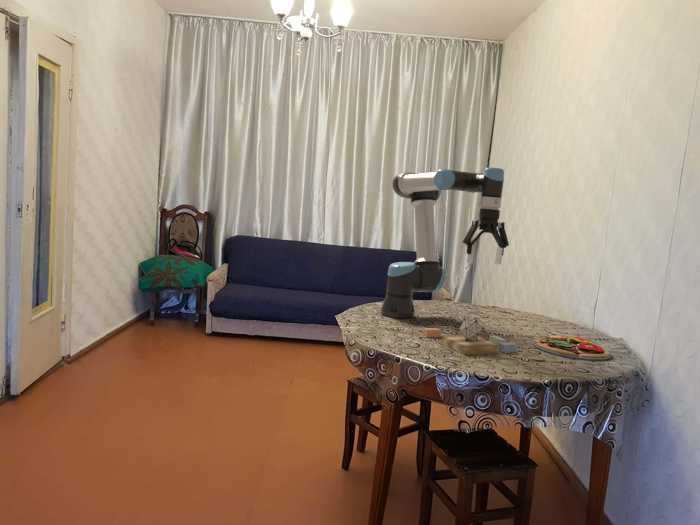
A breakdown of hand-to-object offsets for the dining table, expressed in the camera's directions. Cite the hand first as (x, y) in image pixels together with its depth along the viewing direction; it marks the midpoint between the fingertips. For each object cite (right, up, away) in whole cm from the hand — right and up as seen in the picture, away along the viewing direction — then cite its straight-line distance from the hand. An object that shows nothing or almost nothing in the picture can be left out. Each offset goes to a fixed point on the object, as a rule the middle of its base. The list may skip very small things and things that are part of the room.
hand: (483, 263), depth 223 cm
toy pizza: (+31, -33, -7) cm, 46 cm away
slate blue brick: (+4, -32, -18) cm, 36 cm away
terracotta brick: (-21, -28, -5) cm, 35 cm away
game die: (-10, -27, -19) cm, 35 cm away
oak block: (-10, -30, -19) cm, 37 cm away
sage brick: (+2, -31, -10) cm, 32 cm away
